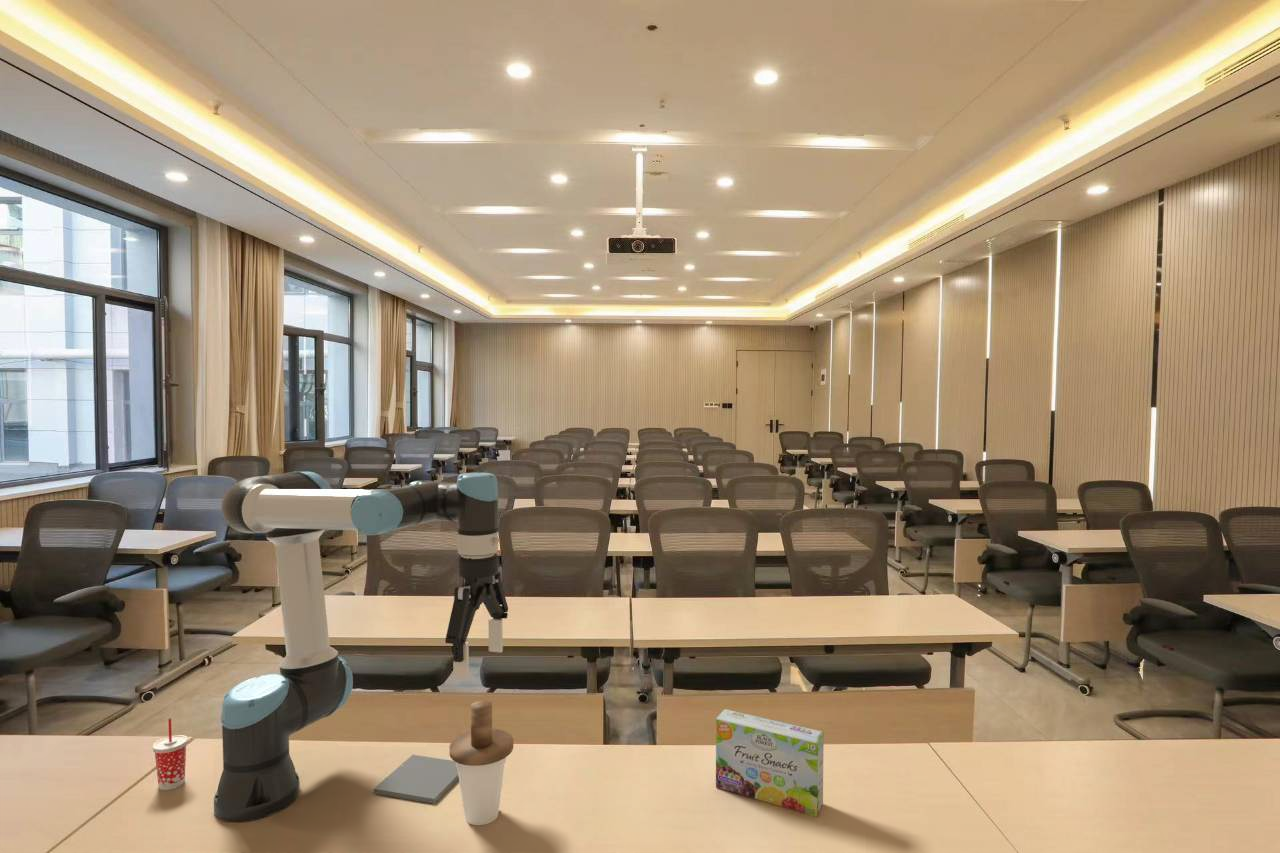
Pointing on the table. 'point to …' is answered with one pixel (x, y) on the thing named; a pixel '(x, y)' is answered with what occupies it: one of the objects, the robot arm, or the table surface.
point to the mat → (419, 779)
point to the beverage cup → (170, 760)
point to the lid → (481, 739)
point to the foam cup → (481, 791)
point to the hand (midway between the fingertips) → (479, 664)
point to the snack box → (770, 761)
